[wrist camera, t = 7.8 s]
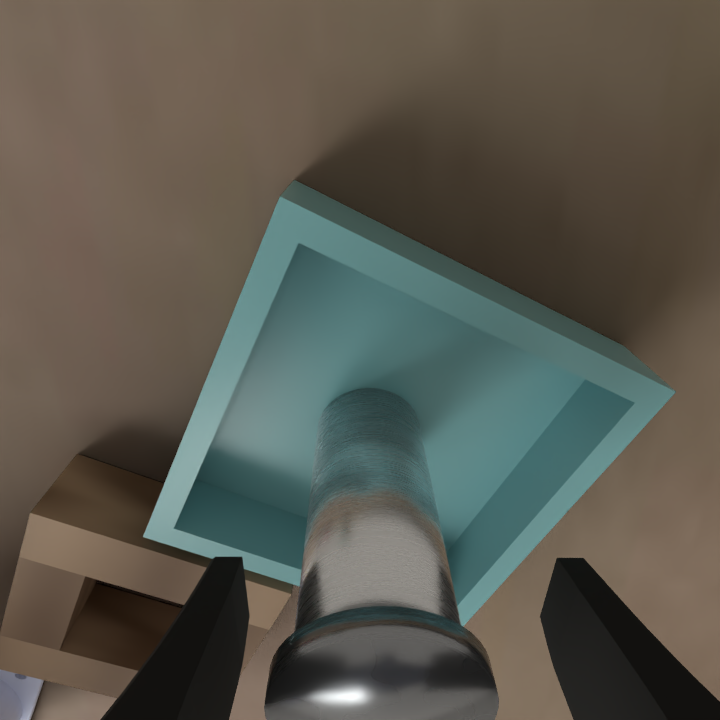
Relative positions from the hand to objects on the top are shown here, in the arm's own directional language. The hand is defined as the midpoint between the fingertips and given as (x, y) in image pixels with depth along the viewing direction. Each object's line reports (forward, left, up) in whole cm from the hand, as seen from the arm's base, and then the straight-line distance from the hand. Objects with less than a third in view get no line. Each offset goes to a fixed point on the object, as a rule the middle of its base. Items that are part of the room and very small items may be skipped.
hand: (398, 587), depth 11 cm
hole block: (-5, -11, -7) cm, 14 cm away
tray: (0, 0, -7) cm, 7 cm away
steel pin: (0, 0, -7) cm, 7 cm away
